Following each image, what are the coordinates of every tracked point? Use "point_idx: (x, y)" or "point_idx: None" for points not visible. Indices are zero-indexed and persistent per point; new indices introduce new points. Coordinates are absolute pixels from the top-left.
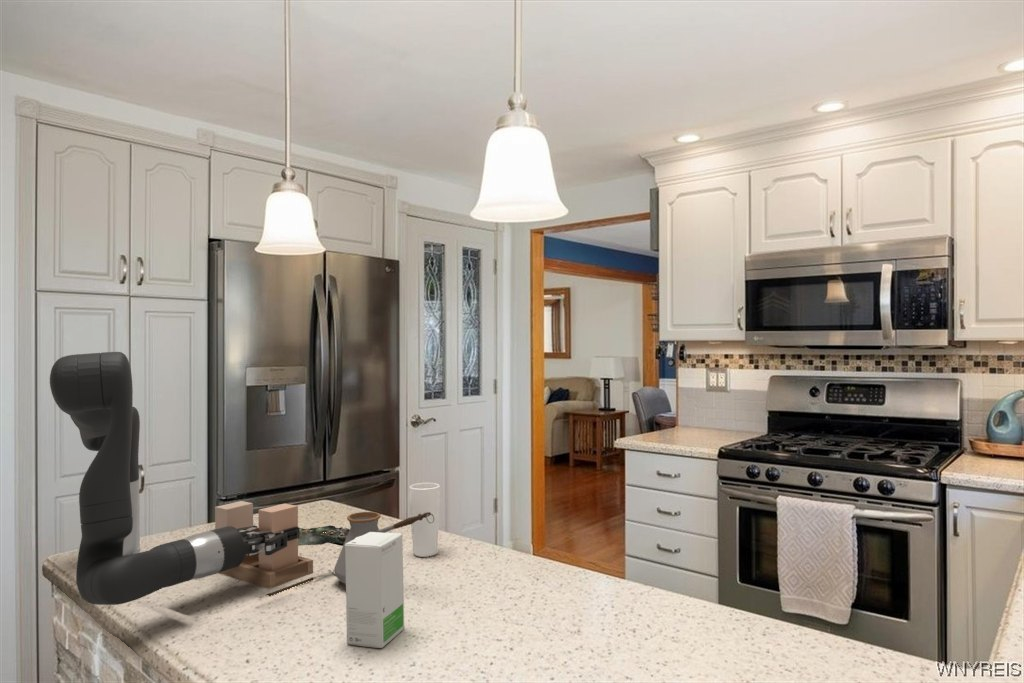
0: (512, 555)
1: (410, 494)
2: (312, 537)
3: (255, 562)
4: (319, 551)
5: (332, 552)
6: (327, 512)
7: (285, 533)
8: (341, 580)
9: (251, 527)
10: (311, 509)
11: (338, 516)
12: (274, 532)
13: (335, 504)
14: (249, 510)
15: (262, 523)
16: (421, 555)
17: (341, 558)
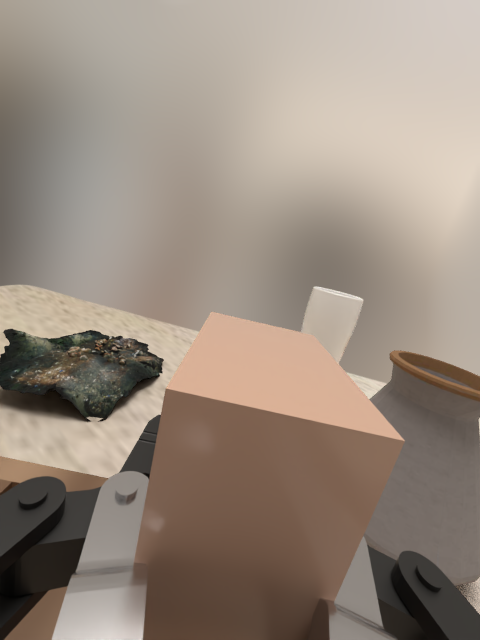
0: (382, 385)
1: (332, 305)
2: (104, 369)
3: None
4: (129, 400)
5: (161, 401)
6: (50, 302)
7: (429, 569)
8: None
9: (14, 532)
10: (15, 294)
11: (76, 311)
12: (347, 586)
13: (50, 291)
14: None
15: (210, 523)
16: None
17: (421, 514)
